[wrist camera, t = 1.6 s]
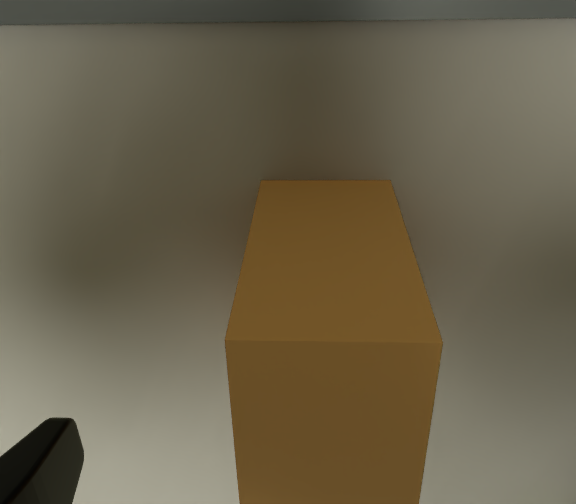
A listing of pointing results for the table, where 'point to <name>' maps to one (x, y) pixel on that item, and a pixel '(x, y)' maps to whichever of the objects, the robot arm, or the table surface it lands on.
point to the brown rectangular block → (330, 349)
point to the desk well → (272, 10)
